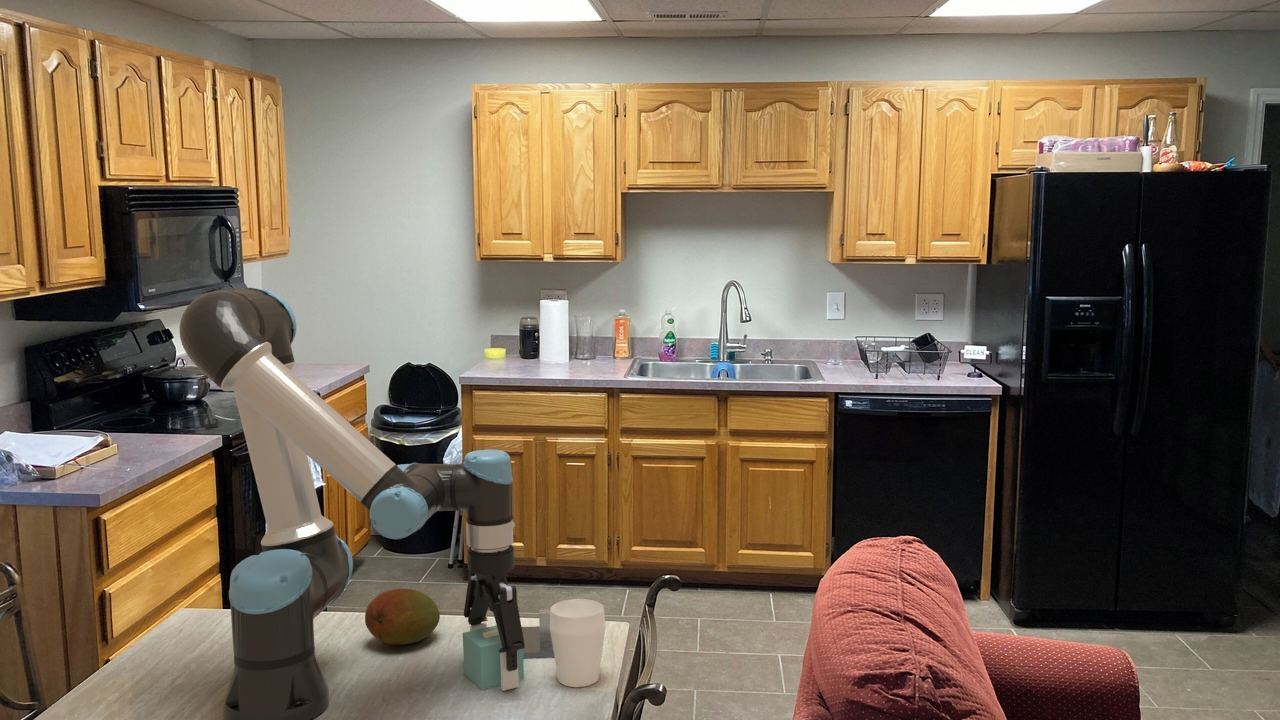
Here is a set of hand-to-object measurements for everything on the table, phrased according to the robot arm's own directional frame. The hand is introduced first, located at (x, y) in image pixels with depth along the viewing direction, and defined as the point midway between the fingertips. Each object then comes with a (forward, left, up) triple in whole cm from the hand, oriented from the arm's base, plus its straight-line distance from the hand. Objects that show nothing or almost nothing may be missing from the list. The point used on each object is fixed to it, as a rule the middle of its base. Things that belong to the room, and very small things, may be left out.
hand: (494, 674), depth 166 cm
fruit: (-18, +16, 0) cm, 24 cm away
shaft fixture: (+8, +13, 0) cm, 15 cm away
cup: (+14, -2, 0) cm, 14 cm away
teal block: (0, 0, 0) cm, 0 cm away
